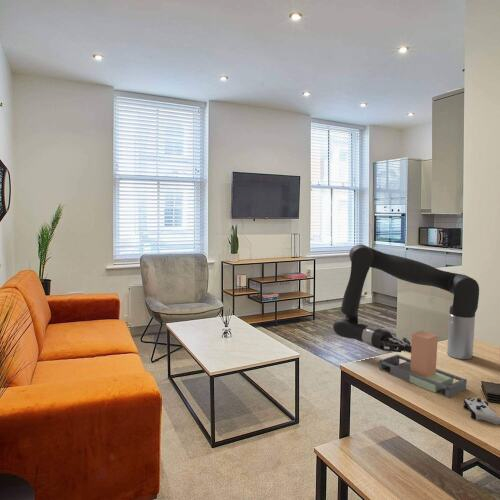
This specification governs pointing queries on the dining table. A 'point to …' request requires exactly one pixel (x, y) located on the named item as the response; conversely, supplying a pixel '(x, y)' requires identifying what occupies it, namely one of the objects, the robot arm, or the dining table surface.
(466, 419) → the dining table surface
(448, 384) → the box
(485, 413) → the gaming controller
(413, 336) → the terracotta block
